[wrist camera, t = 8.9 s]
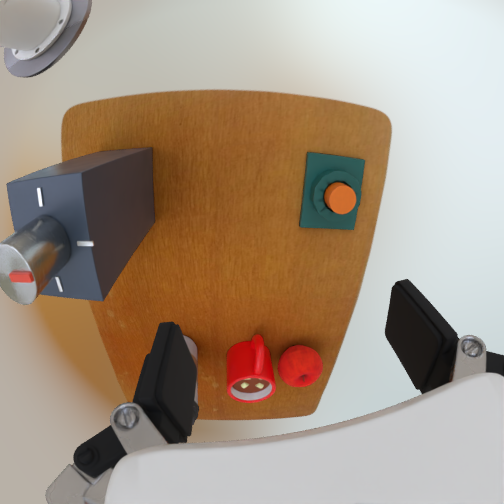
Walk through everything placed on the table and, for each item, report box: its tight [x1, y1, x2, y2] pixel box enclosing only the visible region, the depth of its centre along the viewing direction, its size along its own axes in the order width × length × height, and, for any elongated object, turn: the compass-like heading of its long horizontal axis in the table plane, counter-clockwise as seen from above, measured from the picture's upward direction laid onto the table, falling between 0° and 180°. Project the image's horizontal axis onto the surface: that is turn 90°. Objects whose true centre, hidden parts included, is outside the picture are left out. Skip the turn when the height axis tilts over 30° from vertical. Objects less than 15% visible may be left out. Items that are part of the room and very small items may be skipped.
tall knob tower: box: [7, 147, 155, 301], centre depth 24 cm, size 10×9×18 cm
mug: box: [227, 334, 276, 403], centre depth 43 cm, size 8×12×8 cm, turn 171°
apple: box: [278, 345, 323, 387], centre depth 44 cm, size 8×8×7 cm
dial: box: [0, 216, 71, 305], centre depth 14 cm, size 4×4×5 cm
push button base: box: [299, 152, 365, 230], centre depth 34 cm, size 10×8×2 cm
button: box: [324, 182, 356, 214], centre depth 32 cm, size 4×4×2 cm
